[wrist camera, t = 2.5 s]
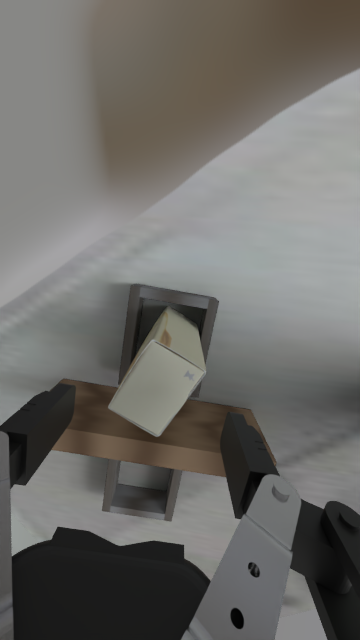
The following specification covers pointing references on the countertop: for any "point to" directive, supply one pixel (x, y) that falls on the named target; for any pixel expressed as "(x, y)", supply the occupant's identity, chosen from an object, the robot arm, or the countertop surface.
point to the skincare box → (161, 373)
